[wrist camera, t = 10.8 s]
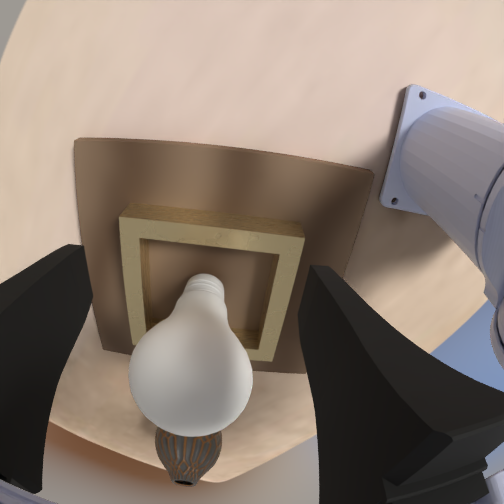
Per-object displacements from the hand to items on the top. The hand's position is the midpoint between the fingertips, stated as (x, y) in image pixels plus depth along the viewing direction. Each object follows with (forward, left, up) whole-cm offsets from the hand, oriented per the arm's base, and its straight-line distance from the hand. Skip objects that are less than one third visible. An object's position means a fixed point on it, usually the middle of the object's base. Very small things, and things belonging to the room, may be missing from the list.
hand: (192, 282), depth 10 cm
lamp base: (0, +7, -10) cm, 13 cm away
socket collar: (0, +7, -10) cm, 13 cm away
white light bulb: (0, +7, -10) cm, 12 cm away
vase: (+1, +26, -11) cm, 28 cm away
